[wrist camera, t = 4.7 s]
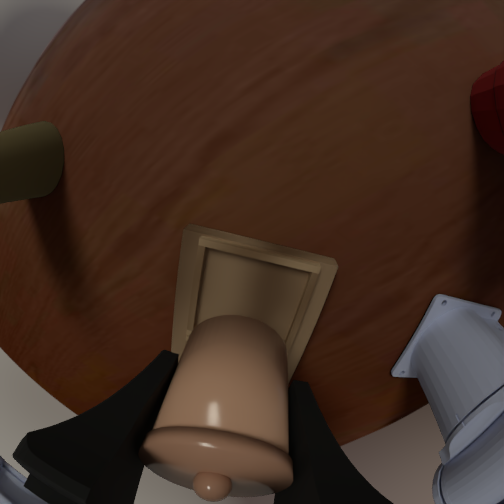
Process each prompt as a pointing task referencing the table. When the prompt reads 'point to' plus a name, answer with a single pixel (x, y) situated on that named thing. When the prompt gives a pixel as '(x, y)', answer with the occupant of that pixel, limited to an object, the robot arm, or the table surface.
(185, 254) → the tray
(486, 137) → the plastic cup
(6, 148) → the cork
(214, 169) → the table surface
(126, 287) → the table surface
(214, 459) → the spice jar
